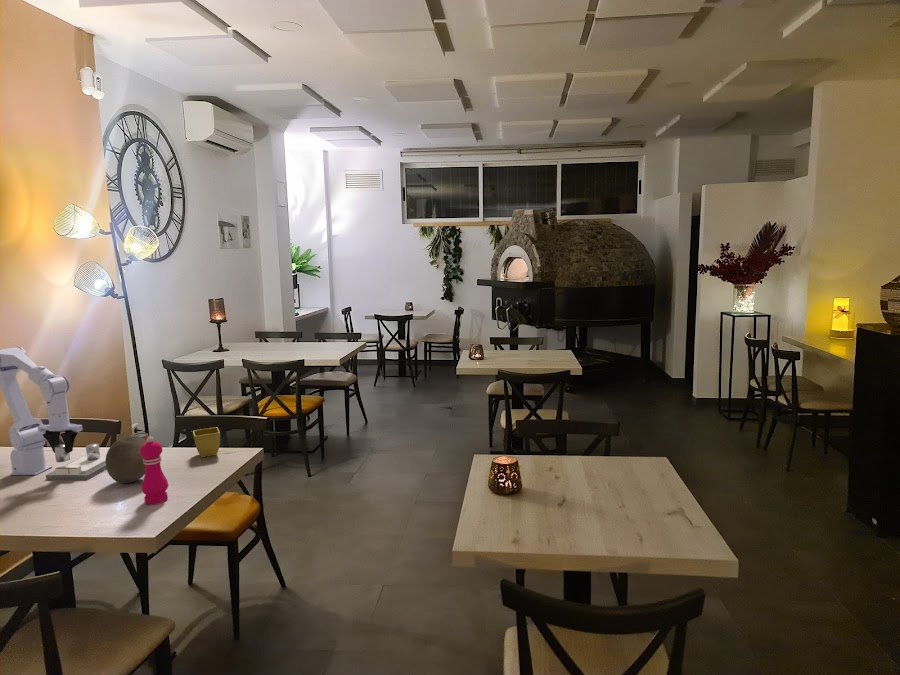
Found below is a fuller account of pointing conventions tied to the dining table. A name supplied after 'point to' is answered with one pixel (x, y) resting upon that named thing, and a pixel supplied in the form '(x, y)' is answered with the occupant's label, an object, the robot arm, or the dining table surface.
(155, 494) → the pepper mill
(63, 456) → the cylinder
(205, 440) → the flower pot
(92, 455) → the cylinder
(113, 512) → the dining table surface
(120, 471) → the cantaloupe
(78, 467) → the scale
